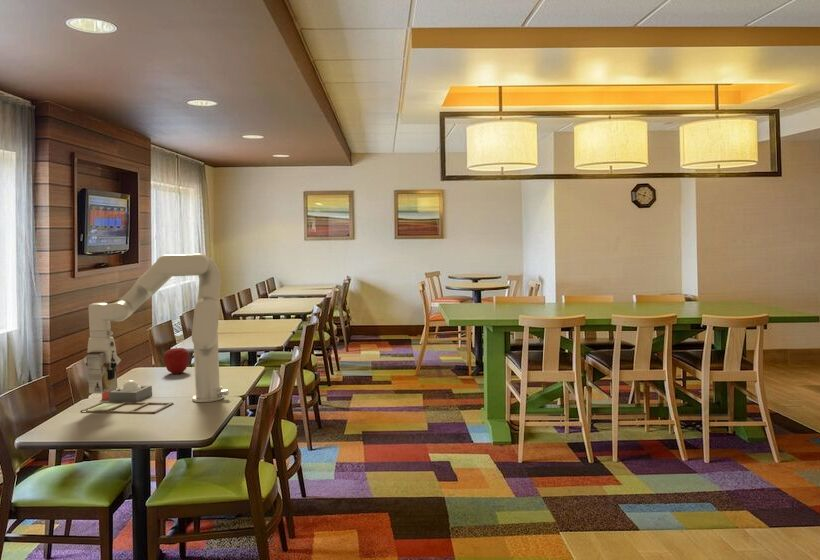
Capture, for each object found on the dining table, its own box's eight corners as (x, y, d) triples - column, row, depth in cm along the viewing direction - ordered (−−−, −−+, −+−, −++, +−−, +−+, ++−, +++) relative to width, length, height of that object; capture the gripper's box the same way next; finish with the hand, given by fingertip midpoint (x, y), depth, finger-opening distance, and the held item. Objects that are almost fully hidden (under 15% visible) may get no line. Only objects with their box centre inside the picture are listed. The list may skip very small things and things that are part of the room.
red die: (116, 396, 278) (115, 387, 277) (110, 399, 274) (110, 389, 273) (107, 396, 278) (107, 386, 278) (102, 399, 274) (101, 389, 274)
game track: (173, 404, 263) (173, 402, 263) (154, 413, 249) (154, 412, 249) (103, 402, 268) (102, 401, 268) (80, 412, 254) (80, 410, 254)
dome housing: (152, 395, 279) (151, 385, 279) (136, 402, 268) (135, 392, 267) (126, 394, 281) (125, 385, 281) (109, 401, 269) (108, 392, 269)
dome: (145, 392, 278) (144, 378, 277) (134, 396, 270) (133, 382, 269) (127, 391, 279) (126, 377, 278) (116, 396, 271) (115, 382, 271)
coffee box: (103, 388, 264) (101, 348, 263) (117, 388, 263) (115, 348, 262) (88, 393, 256) (86, 352, 254) (102, 393, 254) (100, 353, 253)
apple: (184, 369, 332) (183, 343, 331) (193, 373, 323) (192, 346, 322) (160, 373, 324) (159, 346, 323) (169, 377, 315) (167, 349, 314)
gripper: (126, 332, 260) (128, 377, 261) (86, 332, 263) (89, 376, 264) (114, 335, 253) (117, 381, 254) (74, 335, 256) (76, 380, 257)
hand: (102, 378), depth 259 cm, fingers closed on coffee box, 6 cm apart
